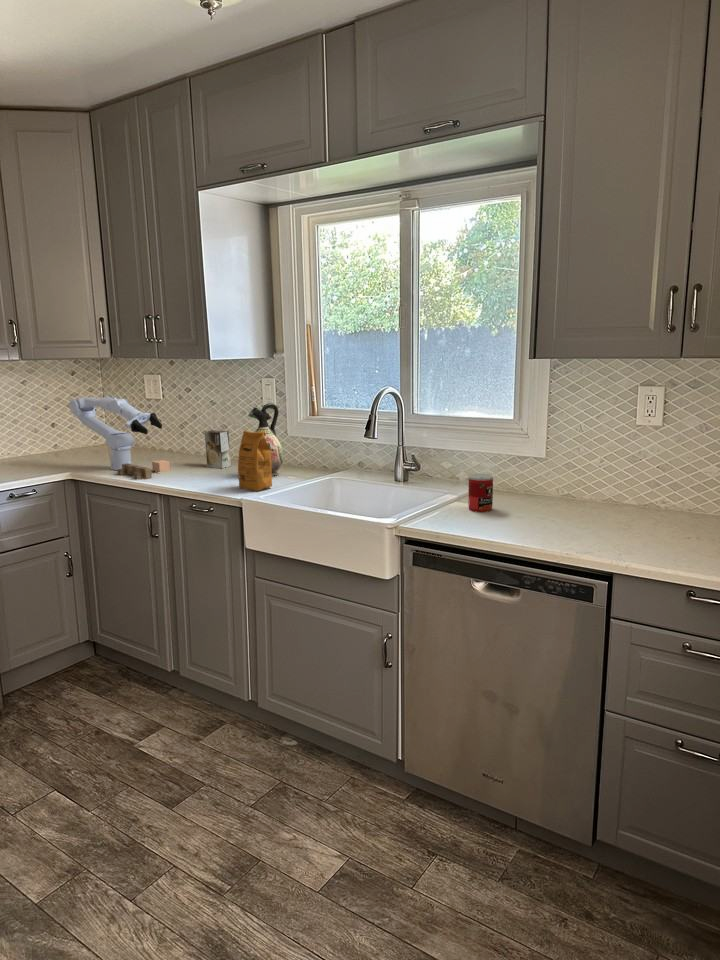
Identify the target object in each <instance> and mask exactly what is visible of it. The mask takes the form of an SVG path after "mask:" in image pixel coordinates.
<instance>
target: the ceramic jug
mask: <svg viewBox="0 0 720 960" xmlns="http://www.w3.org/2000/svg"><path fill="white" fill-rule="evenodd" d="M268 409H272V410H273V416H272V417H273V418H272V417H271V415H270V414H269V413H268V412H267V410H268ZM279 412H280V411H279V407H278V406H277V404H275V403H272V402H270V403H269V402H268V403H266V404H264V405H263V407H262V408H261V409H259V408H258V407H253V408H252V410H250V412H249V413H248V417H250V418H253V419H255V420H257V421H258V423H259V424H258V427H257V428H256V430H255V431H254V432H265V434H266V435H265V436H264V437H265V439H266V441H267V443H268V445H269V447H270V450H271V469H272V473H271V474H272V477H275V476H276V474H277V475H278V471H279V469H280V468H281V467H282V465H283V463H284V452H283V446H282V444H281V443H280V441H279V439H278V437H277V433H276V430H275V427H276V425H277V422H278V417H279ZM268 420H272V422H271V424H270V425H269V424H268ZM274 475H275V476H274Z"/></svg>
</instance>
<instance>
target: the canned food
mask: <svg viewBox="0 0 720 960" xmlns="http://www.w3.org/2000/svg"><path fill="white" fill-rule="evenodd" d="M493 492H494V476H493V475H491V474H485V473H473V474H470V475H469V476H468V500H467V501H468V503H467V504H468V510H470V511H471V510H472V511H471V512H475V511H477V512H476V513H486V512H485V511H488V512H491V511H492V509H493V499H494V497H493V495H494V493H493ZM490 510H491V511H490Z"/></svg>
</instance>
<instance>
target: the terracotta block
mask: <svg viewBox="0 0 720 960" xmlns="http://www.w3.org/2000/svg"><path fill="white" fill-rule="evenodd" d="M151 465H152V466H151V467H152V468H151V470H152V472H153V471H155V472H154V473H157V472H164V473H166V472H165V471H170V472H171V466H170V461H167V460H164V459H161V460H153V461H151Z"/></svg>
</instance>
